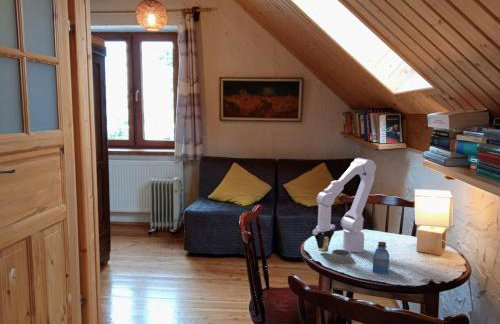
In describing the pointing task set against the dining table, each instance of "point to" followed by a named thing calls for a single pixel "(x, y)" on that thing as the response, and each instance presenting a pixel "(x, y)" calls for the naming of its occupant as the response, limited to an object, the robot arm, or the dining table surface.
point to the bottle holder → (341, 256)
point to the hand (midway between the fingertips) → (323, 246)
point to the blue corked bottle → (381, 259)
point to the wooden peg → (325, 245)
